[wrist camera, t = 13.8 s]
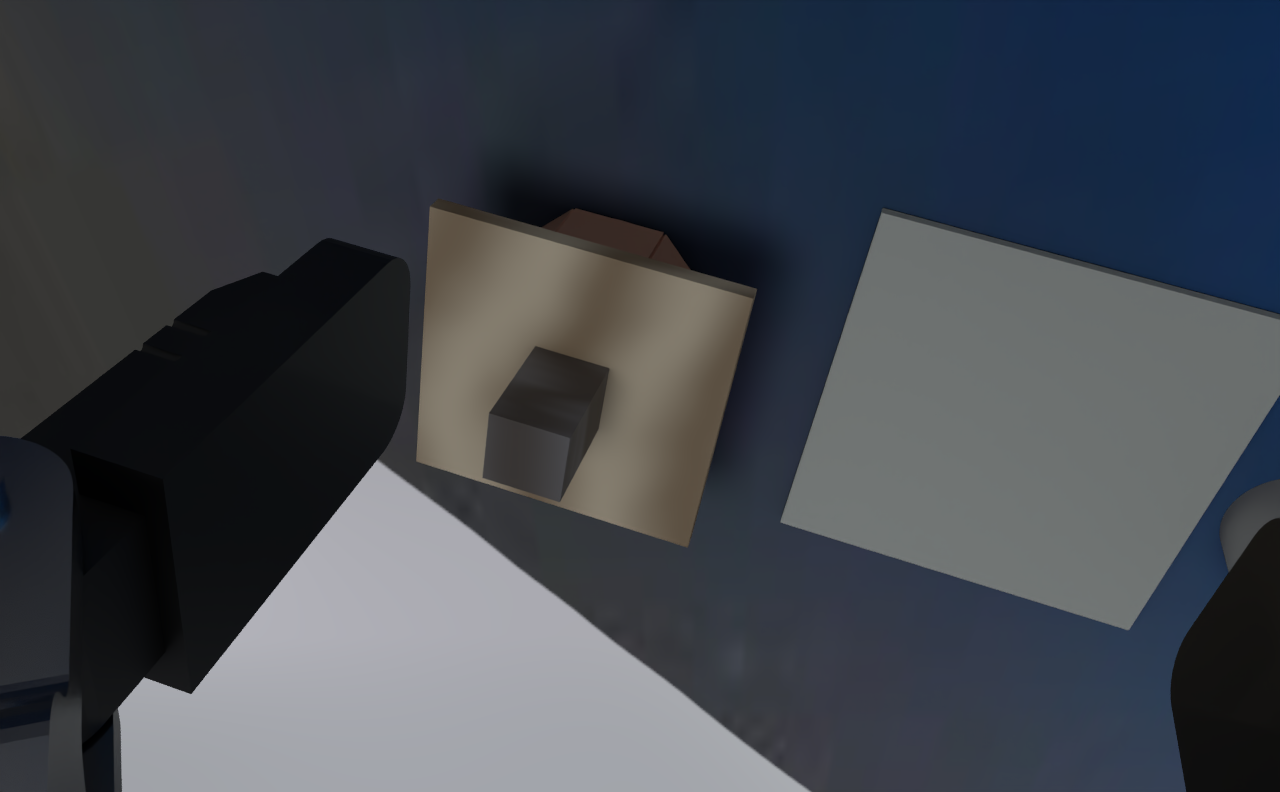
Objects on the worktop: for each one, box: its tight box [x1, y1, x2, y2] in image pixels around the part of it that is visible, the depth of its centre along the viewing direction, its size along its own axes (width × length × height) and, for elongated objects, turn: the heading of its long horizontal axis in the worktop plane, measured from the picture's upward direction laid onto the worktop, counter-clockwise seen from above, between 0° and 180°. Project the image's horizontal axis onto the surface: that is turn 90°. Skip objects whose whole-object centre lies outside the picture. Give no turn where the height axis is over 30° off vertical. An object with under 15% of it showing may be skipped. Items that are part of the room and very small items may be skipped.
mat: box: [781, 208, 1280, 630], centre depth 47 cm, size 17×17×1 cm
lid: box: [417, 199, 757, 547], centre depth 43 cm, size 13×13×6 cm
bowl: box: [541, 208, 690, 270], centre depth 47 cm, size 10×10×6 cm
